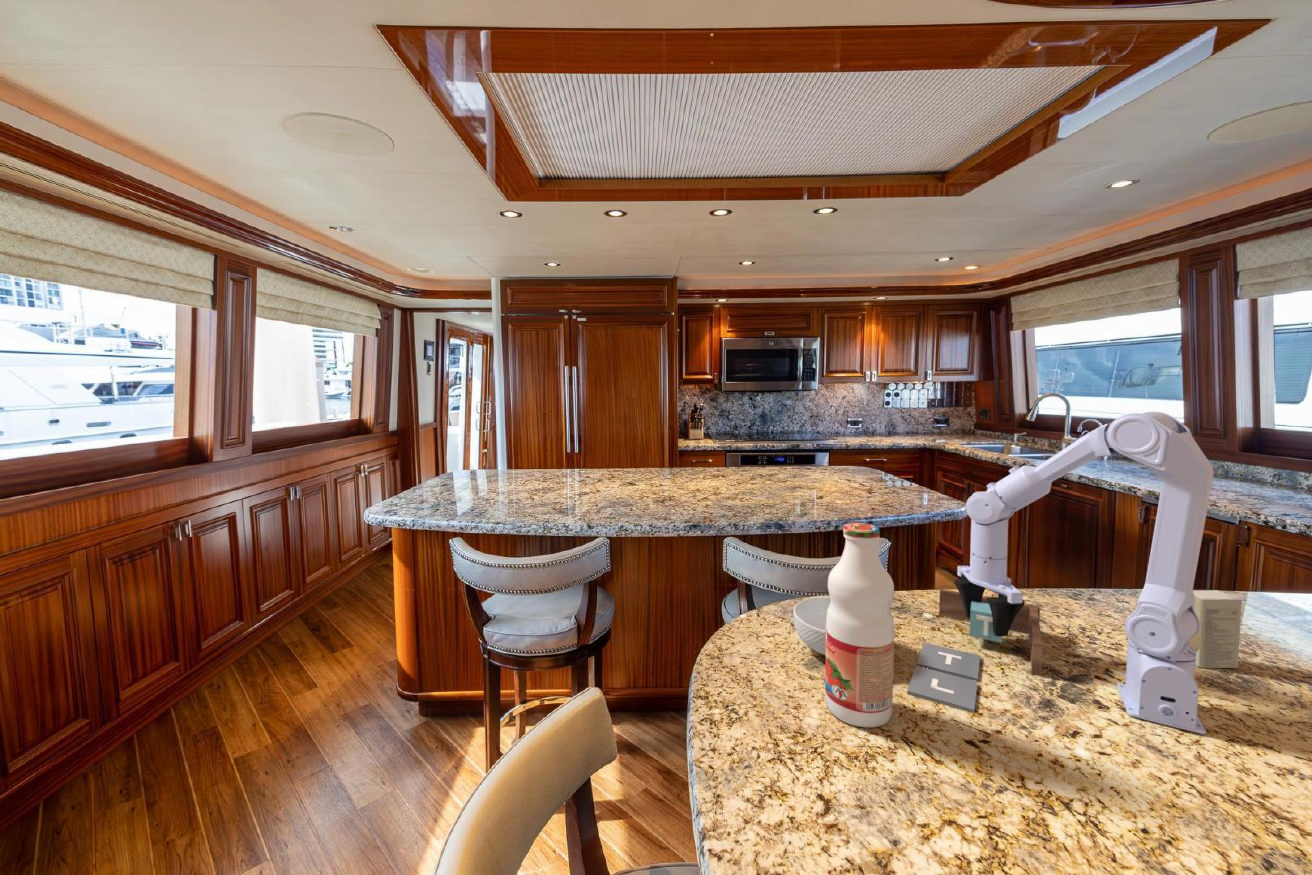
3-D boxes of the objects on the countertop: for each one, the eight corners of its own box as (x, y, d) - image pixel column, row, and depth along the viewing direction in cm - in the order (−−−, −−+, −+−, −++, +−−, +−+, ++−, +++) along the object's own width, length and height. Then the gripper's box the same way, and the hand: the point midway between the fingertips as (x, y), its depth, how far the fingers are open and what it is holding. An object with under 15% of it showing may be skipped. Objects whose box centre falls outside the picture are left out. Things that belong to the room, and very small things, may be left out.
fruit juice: (892, 736, 71) (897, 537, 69) (821, 720, 75) (824, 531, 72) (891, 699, 80) (896, 521, 77) (827, 686, 83) (830, 516, 81)
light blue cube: (1001, 643, 93) (1002, 616, 92) (969, 636, 96) (970, 610, 95) (1001, 631, 97) (1002, 606, 97) (970, 625, 100) (971, 600, 99)
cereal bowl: (783, 660, 92) (783, 622, 91) (803, 623, 106) (803, 590, 106) (887, 684, 84) (888, 642, 83) (893, 641, 98) (894, 605, 98)
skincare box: (1214, 656, 91) (1219, 589, 90) (1239, 669, 87) (1244, 599, 86) (1174, 655, 92) (1179, 588, 91) (1197, 667, 87) (1202, 598, 86)
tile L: (974, 712, 76) (974, 709, 76) (907, 693, 81) (907, 690, 81) (977, 684, 83) (977, 681, 83) (915, 668, 88) (915, 665, 88)
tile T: (977, 681, 84) (977, 678, 84) (916, 665, 89) (916, 662, 89) (980, 658, 92) (980, 655, 92) (923, 644, 97) (923, 642, 97)
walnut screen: (1043, 676, 85) (1045, 644, 85) (928, 649, 95) (929, 620, 94) (1038, 633, 101) (1039, 606, 100) (939, 613, 110) (940, 588, 110)
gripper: (1040, 566, 88) (1037, 643, 89) (982, 543, 103) (980, 609, 104) (1001, 568, 88) (998, 645, 89) (948, 544, 102) (946, 610, 103)
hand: (986, 626), depth 96 cm, fingers closed on light blue cube, 7 cm apart
